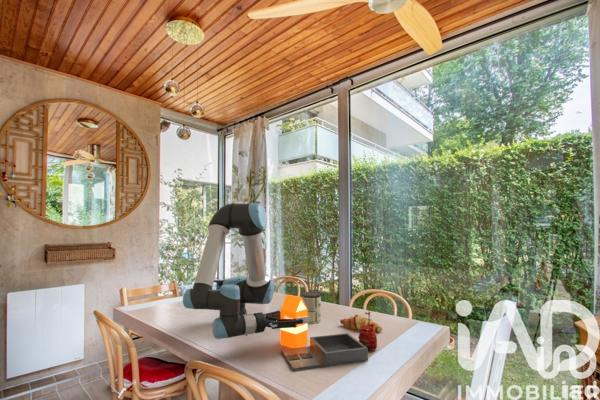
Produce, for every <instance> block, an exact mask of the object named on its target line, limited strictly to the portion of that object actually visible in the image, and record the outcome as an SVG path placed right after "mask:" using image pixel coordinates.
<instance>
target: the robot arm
mask: <svg viewBox="0 0 600 400" xmlns="http://www.w3.org/2000/svg"><path fill="white" fill-rule="evenodd" d="M266 227H267V213H266V210H265V207H264V206H263V205H262V204H261V203H254V202H251V203H250V202H249V203H227V204H224V205H222V206H221V207H220V208H219V209H217V211H215V213H214V214H213V215H212V217H211V219H210V220H209V223H208V226H207V231H208V235H207V238H206V242H205V245H204V248H203V251H202V255H201V259H200V261H199V266H198V269H197V272H196V275H195V280H194V283H193V286H192V288H188V289H186V290H185V292H184V293H183V297H182V304H183V306H184V308H186V309H191V310H192V309H193V310H211V311H219V317H216V318H215V319H214V320H213V325H212V328H213V329H212V332H213V336H214V338H215V339H217V340H220V339H230V338H235V337H241V336H246V337H247V336H248V335H252V334H260V333H263V332H265V330H266V328H271V330H277V329H280V328H296V325H300V324H306V323H308V324H310V323H309V316H304V317H298V318H294V319H281V310H275V311H271V312H267V313H263V312H260V311H259V312H254V313H248V312H247V309H246V304H254V305H268V304H270V303H271V302H272V300H273V297H274V292H275V281H274V280H272V279H271V278H270V276H269V274H267V272H266V264H265V256H264V247H263V241H262V233H263V232H264V229H265V228H266ZM231 229H237V230H238V234H239V235H240V236H242V241H243V246H244V252H245V253H244V254H245V260H246V261H245V262H246V267H247V272H248V277H247V278H246V276H241V275H240V276H235V277H229V278H226V279H224V280H223V282H222V285H221V286H220V287H219V289H213V286H214V283H215V279H216V275H217V272H218V271H217V270H218V267H219V263H220V260H221V257H222V252H223V247H224V244H225V240H226V237H227V236H228V235H229V234H230V231H231Z"/></svg>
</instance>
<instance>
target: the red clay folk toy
mask: <svg viewBox="0 0 600 400" xmlns="http://www.w3.org/2000/svg"><path fill="white" fill-rule="evenodd" d="M364 314H365V316H366V315H368V318H367V319H368V320H369V321H370V319H371V318H370V317H371V310H368V312H367V311H366V312H365V311H364ZM377 336H378V335H377V334H376V332H375V331H374V329H373V327H371V326H370V322H368V325H367V326H365V325H363V326H362V329H361V331H359V334H358V339H359V340H358V341H359V342H360V343H362V344H363V345H364V346H366V347H367V348H368V352H374V350H376V349H377V346H378V338H377Z"/></svg>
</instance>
